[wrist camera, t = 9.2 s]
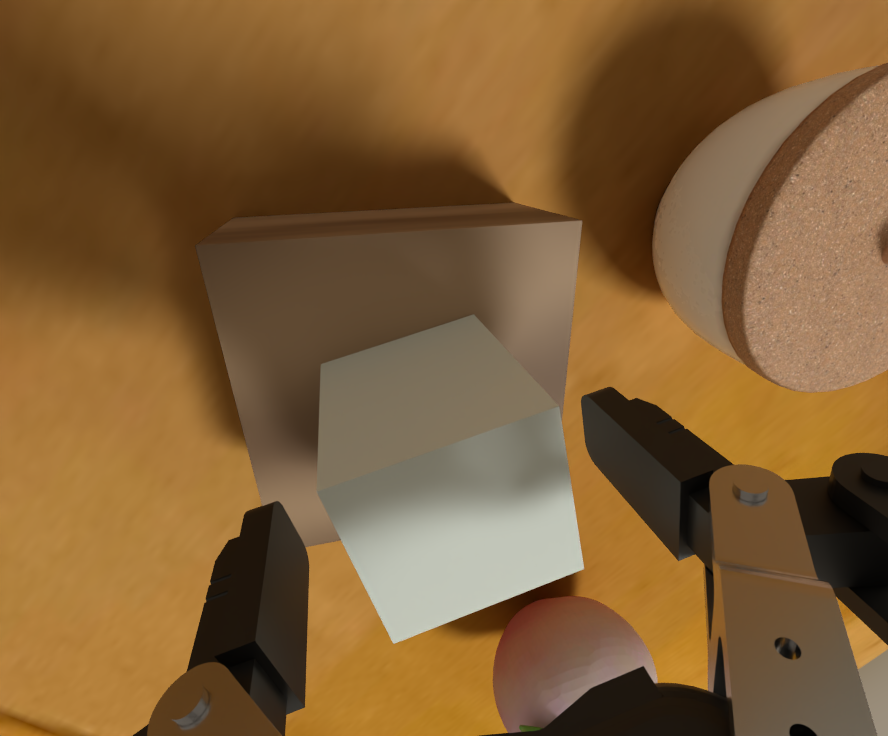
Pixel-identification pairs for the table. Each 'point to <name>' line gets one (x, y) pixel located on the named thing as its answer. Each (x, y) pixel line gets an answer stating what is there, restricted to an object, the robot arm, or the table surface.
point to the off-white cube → (444, 475)
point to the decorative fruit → (560, 658)
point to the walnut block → (373, 312)
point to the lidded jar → (787, 234)
